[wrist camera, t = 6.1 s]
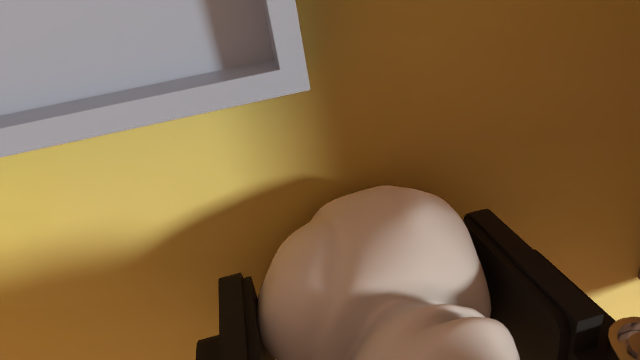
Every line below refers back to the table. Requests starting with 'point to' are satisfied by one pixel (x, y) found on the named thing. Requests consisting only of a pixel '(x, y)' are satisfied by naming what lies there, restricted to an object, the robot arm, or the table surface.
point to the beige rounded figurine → (380, 285)
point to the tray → (138, 63)
